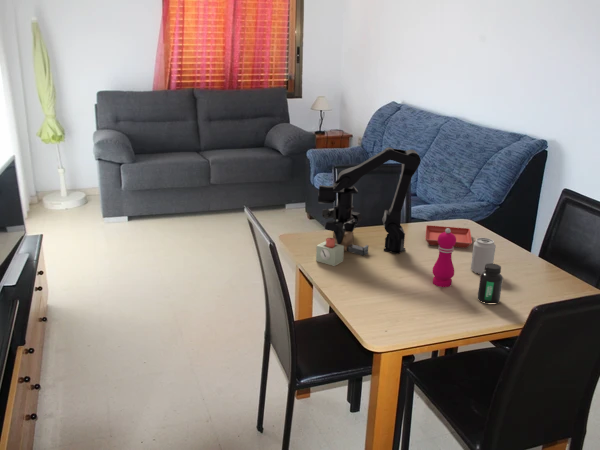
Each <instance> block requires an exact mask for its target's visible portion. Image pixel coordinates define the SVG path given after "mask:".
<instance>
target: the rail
mask: <svg viewBox="0 0 600 450" xmlns="http://www.w3.org/2000/svg"><path fill="white" fill-rule="evenodd" d="M346 252H350V253H352V254H356V255H360V256H364V257H365V256H366V255H367V254H369V245H367V244H366V245H364V246H360V245H357V244H356V245H355V244H350V245H349V246H347V251H346Z"/></svg>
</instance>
